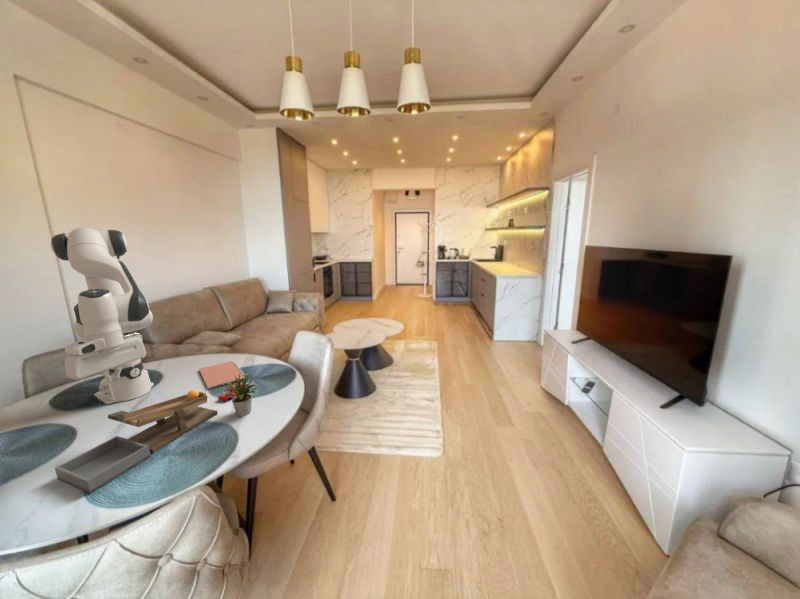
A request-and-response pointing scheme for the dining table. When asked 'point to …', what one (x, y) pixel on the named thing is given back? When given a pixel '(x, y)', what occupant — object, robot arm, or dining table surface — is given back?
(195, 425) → the lever stand
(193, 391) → the ball
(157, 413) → the lever
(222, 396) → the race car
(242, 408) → the house plant
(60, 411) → the dining table surface
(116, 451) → the tray
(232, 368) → the notebook
